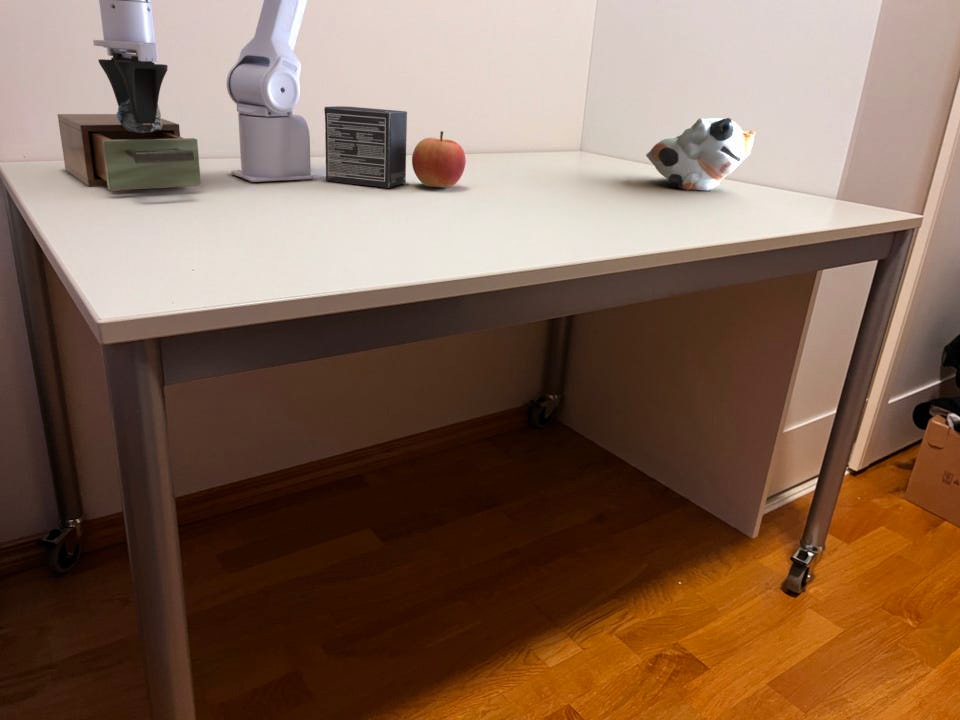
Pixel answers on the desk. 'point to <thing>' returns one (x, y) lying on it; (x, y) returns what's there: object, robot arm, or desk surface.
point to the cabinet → (79, 145)
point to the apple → (438, 162)
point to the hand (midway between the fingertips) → (138, 120)
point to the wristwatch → (129, 121)
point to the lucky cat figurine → (702, 153)
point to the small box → (365, 146)
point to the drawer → (144, 159)
